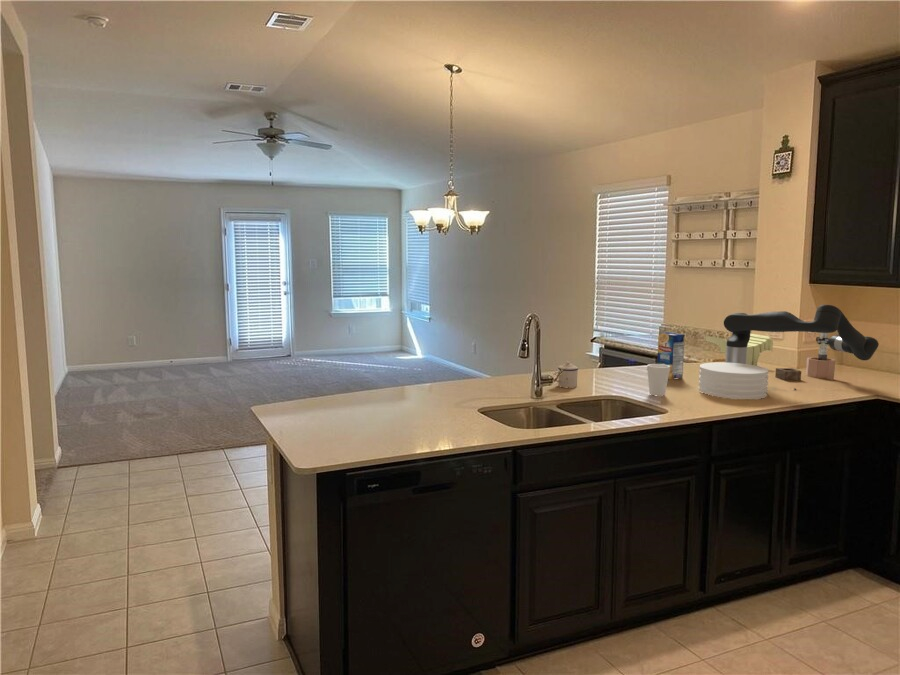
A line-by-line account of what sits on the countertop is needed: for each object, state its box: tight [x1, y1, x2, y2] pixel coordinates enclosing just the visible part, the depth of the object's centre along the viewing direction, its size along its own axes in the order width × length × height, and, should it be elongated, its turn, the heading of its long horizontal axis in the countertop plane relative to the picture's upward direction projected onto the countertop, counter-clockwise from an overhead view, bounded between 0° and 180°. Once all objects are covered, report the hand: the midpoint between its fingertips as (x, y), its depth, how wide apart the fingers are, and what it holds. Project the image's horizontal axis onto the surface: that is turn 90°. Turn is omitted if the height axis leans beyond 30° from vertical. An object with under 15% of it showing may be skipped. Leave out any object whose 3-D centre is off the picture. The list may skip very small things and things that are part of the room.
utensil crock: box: [805, 356, 836, 381], centre depth 314 cm, size 11×11×10 cm
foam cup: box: [646, 363, 670, 397], centre depth 277 cm, size 10×9×13 cm
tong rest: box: [774, 367, 802, 382], centre depth 307 cm, size 8×8×6 cm
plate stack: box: [697, 361, 770, 400], centre depth 282 cm, size 28×28×12 cm
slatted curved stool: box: [705, 333, 774, 366], centre depth 340 cm, size 30×16×18 cm, turn 109°
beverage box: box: [656, 331, 686, 380], centre depth 317 cm, size 7×11×22 cm, turn 22°
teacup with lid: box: [553, 361, 579, 388], centre depth 294 cm, size 12×9×12 cm
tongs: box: [817, 333, 829, 361], centre depth 312 cm, size 3×2×24 cm
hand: (820, 339), depth 314 cm, fingers closed on tongs, 2 cm apart
